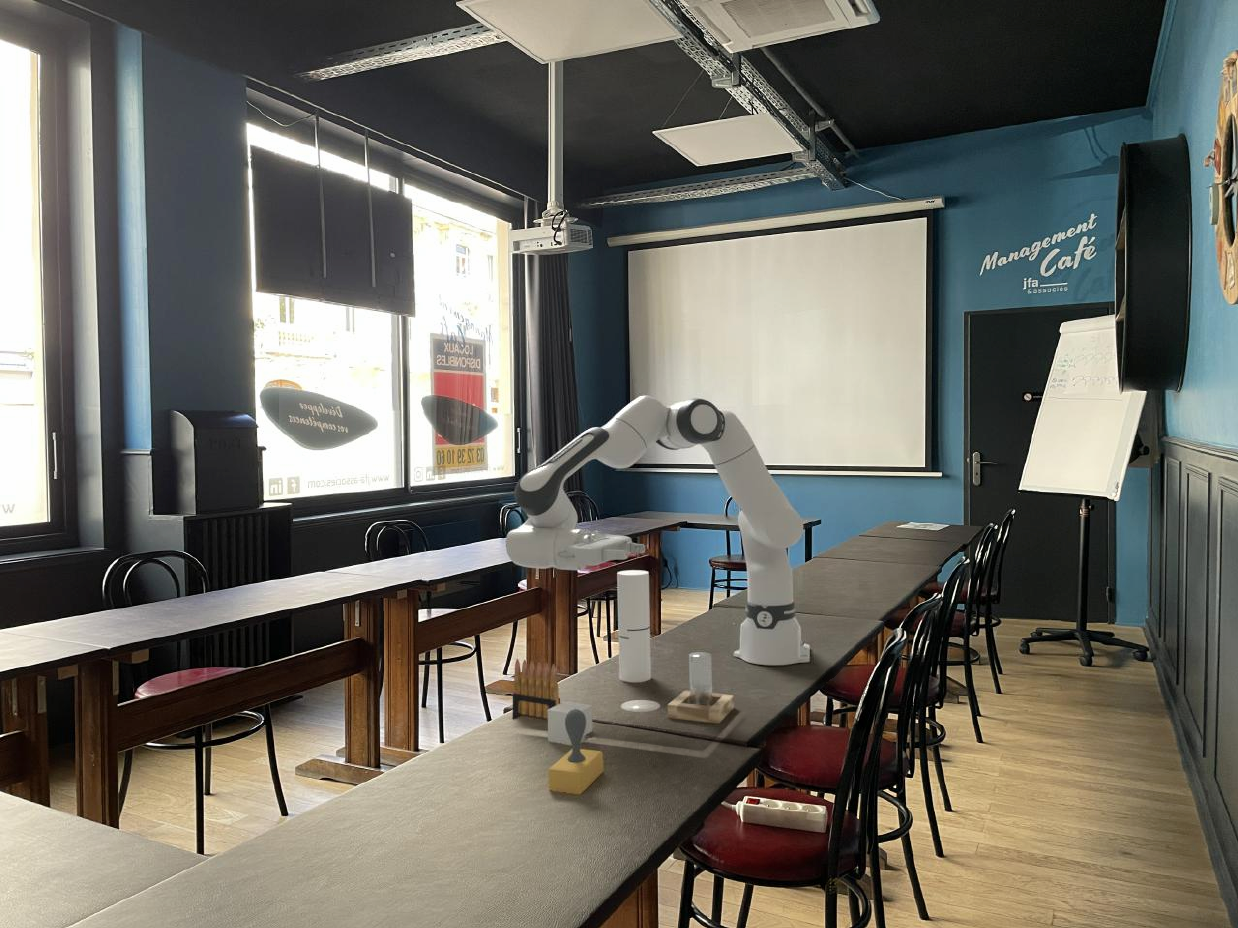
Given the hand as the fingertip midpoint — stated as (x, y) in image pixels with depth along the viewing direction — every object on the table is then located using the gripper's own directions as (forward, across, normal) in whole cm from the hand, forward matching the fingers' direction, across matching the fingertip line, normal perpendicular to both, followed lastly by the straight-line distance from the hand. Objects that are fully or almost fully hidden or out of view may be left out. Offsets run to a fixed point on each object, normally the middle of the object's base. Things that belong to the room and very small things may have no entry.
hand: (635, 551), depth 189 cm
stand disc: (+2, -4, +32) cm, 32 cm away
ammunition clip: (-15, -17, +32) cm, 39 cm away
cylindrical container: (-7, +15, +32) cm, 36 cm away
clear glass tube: (+15, -4, +31) cm, 35 cm away
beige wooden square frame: (+15, -4, +32) cm, 36 cm away
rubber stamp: (+6, -42, +32) cm, 53 cm away
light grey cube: (-4, -24, +32) cm, 40 cm away
